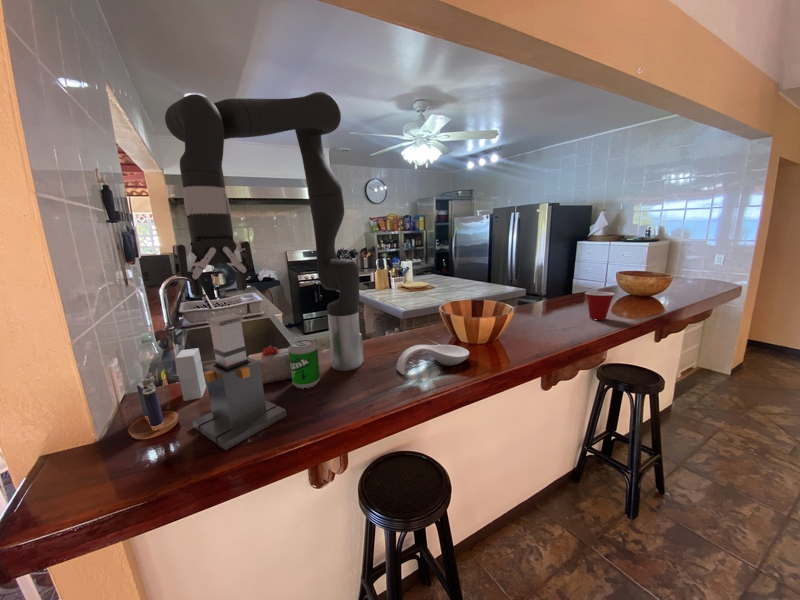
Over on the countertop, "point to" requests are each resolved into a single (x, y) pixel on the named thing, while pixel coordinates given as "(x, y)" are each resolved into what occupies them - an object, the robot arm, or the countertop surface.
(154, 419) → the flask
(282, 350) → the food item
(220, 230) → the robot arm
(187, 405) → the countertop surface
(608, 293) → the plastic cup
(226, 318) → the column
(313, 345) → the soda can
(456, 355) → the spoon rest
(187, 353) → the skincare box
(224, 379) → the stand
